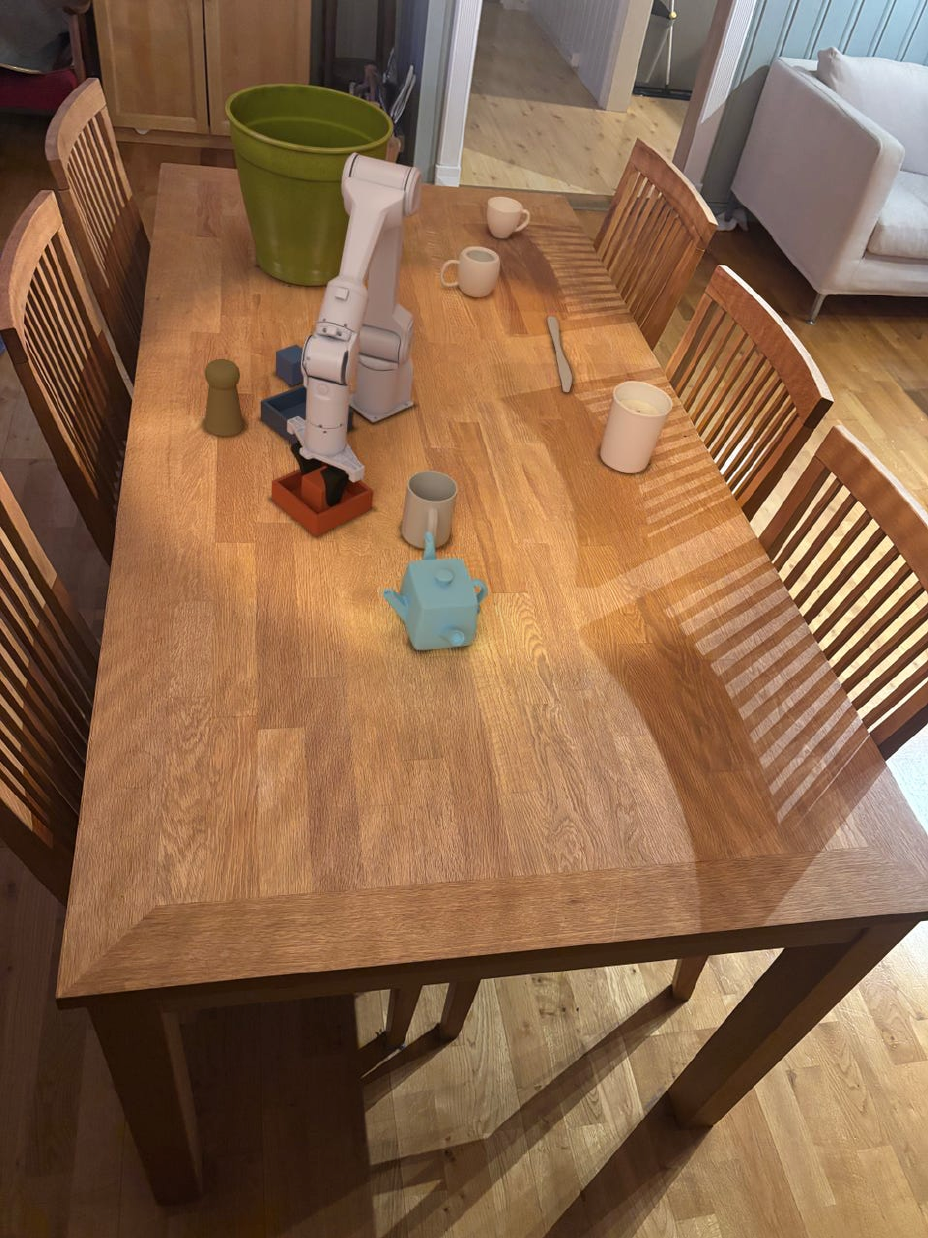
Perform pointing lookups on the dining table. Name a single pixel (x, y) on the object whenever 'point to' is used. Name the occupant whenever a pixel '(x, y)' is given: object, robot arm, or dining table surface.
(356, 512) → the terracotta bin
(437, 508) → the cup
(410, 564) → the teapot
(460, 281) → the mug
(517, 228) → the cup
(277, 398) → the blue bin
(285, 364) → the blue block
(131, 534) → the dining table surface
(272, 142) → the plant pot
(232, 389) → the pepper mill
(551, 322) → the butter knife
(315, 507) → the terracotta block
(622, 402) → the candle holder
